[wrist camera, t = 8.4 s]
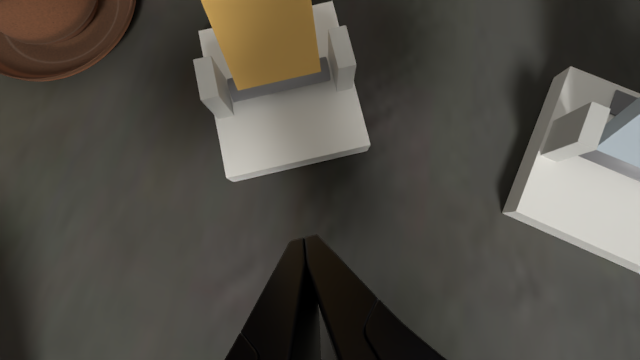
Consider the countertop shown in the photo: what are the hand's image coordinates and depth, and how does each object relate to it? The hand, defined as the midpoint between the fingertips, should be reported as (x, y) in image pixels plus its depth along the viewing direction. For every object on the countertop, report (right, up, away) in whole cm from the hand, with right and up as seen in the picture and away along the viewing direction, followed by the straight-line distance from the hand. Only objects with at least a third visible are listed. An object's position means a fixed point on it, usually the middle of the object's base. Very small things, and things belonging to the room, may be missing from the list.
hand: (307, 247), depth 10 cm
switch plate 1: (-2, +8, +13) cm, 15 cm away
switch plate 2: (+18, +3, +12) cm, 22 cm away
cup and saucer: (-18, +14, +15) cm, 27 cm away
